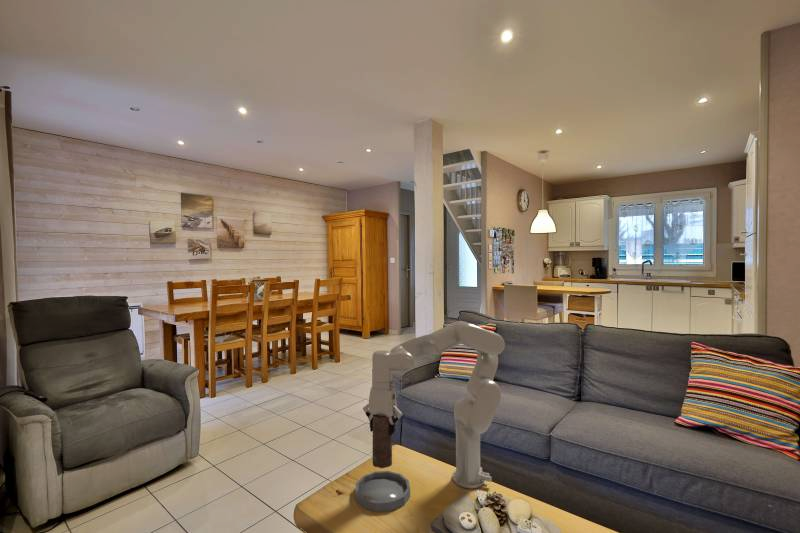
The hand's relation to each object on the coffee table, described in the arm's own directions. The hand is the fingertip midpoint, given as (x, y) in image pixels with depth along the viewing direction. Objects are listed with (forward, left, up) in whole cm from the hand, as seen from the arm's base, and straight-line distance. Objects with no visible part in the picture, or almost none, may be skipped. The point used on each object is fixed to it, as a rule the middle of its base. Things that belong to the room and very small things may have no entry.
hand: (382, 431), depth 135 cm
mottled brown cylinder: (0, 0, -13) cm, 13 cm away
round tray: (0, 0, -23) cm, 23 cm away
